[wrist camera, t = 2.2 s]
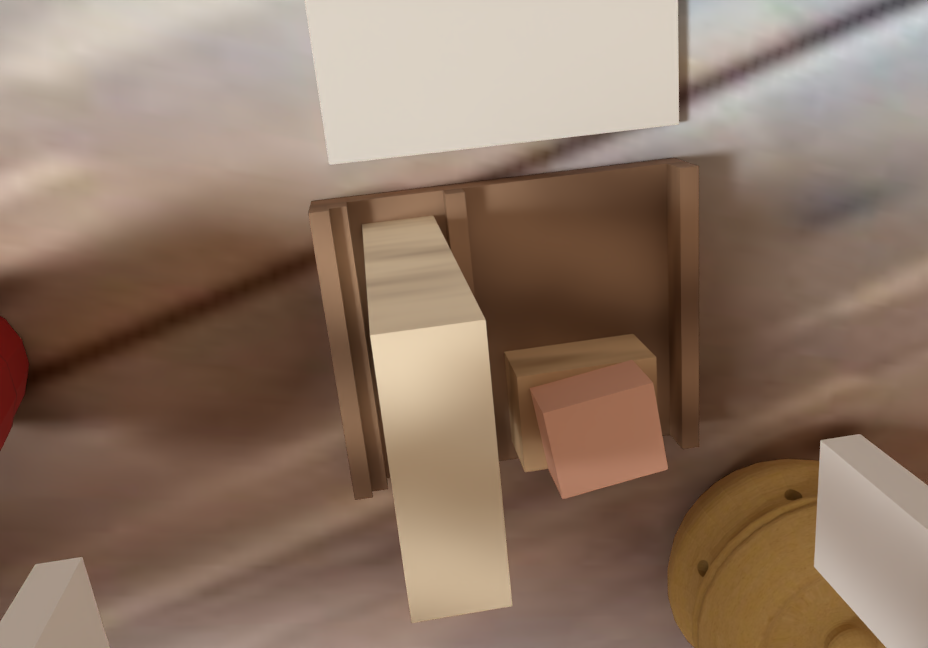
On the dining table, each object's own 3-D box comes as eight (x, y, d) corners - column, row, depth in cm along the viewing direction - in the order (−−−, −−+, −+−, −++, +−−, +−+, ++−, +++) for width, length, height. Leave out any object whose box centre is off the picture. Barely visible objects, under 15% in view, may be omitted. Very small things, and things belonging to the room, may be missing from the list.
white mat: (673, 123, 36) (679, 124, 35) (329, 163, 34) (329, 164, 34) (671, -66, 33) (677, -68, 32) (300, -31, 32) (299, -32, 31)
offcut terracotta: (647, 441, 36) (668, 469, 33) (548, 469, 35) (562, 499, 33) (632, 359, 34) (653, 382, 32) (529, 388, 34) (542, 413, 32)
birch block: (454, 408, 37) (512, 606, 24) (389, 418, 37) (411, 623, 24) (433, 215, 34) (485, 319, 21) (362, 224, 34) (370, 335, 21)
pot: (850, 404, 41) (997, 508, 32) (859, 590, 45) (992, 731, 36) (629, 460, 41) (712, 584, 31) (658, 644, 45) (739, 803, 35)
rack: (676, 421, 40) (699, 446, 38) (354, 470, 39) (354, 499, 36) (674, 157, 36) (698, 166, 33) (311, 201, 35) (308, 213, 32)
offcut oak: (635, 422, 39) (658, 451, 36) (511, 440, 38) (524, 472, 35) (633, 333, 37) (656, 357, 34) (504, 352, 37) (516, 376, 34)
